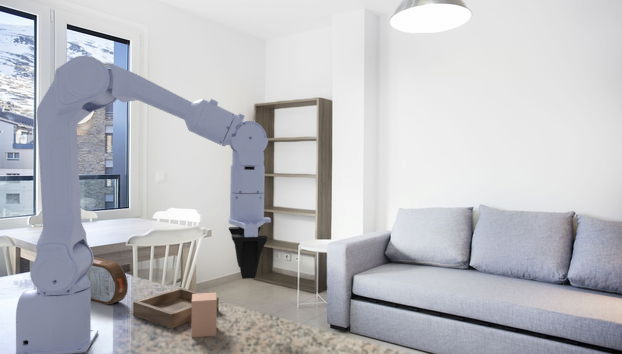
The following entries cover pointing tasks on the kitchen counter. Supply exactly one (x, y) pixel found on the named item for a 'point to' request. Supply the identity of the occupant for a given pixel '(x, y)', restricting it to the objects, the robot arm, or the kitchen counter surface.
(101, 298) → the tin
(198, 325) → the block
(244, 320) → the kitchen counter surface
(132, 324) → the kitchen counter surface
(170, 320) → the tray
